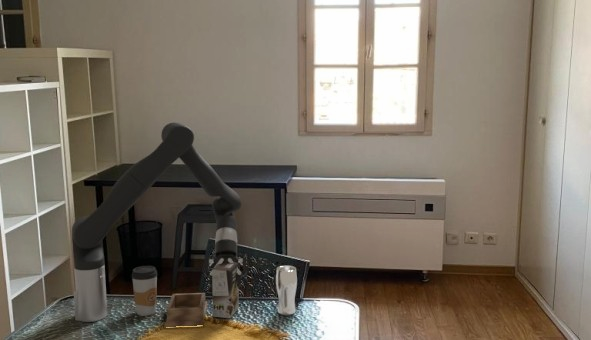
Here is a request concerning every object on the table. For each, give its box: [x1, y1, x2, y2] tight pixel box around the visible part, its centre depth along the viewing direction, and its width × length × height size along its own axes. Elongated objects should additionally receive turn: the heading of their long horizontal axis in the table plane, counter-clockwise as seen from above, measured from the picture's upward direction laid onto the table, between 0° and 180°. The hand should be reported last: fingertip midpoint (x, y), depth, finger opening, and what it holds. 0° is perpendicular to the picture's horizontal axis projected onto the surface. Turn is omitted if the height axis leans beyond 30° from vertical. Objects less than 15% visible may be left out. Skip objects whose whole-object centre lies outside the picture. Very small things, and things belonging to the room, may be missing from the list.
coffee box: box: [211, 262, 240, 319], centre depth 182 cm, size 9×6×16 cm
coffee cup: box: [131, 265, 158, 317], centre depth 184 cm, size 8×8×15 cm
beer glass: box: [275, 265, 298, 316], centre depth 184 cm, size 7×7×15 cm
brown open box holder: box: [163, 292, 208, 328], centre depth 182 cm, size 12×20×5 cm, turn 5°
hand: (225, 287), depth 181 cm, fingers closed on coffee box, 8 cm apart
